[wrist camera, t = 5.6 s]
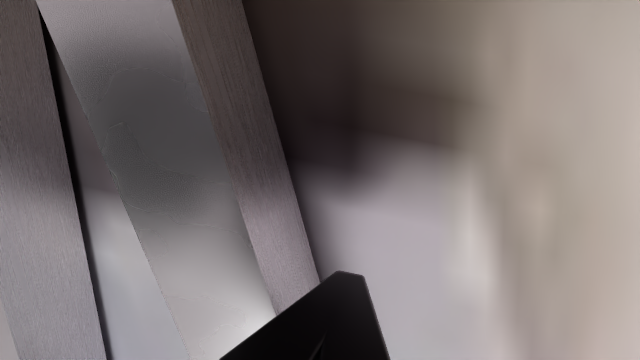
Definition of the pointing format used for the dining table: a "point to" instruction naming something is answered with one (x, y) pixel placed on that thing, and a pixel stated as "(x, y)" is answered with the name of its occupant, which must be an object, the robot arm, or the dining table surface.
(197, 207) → the tong arm
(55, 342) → the tongs fixed arm
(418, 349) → the dining table surface
